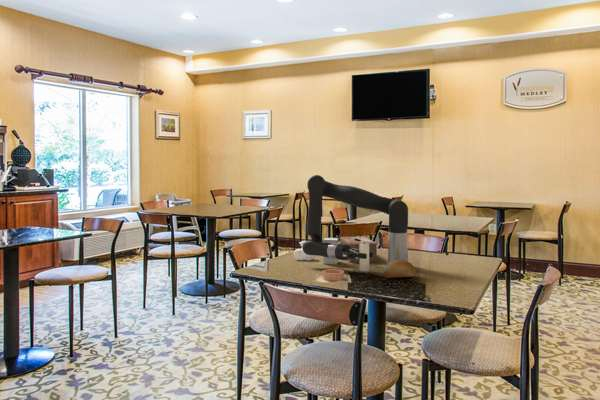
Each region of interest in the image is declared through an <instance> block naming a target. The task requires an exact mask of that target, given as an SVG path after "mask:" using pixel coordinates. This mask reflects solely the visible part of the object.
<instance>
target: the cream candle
mask: <svg viewBox="0 0 600 400" xmlns="http://www.w3.org/2000/svg"><path fill="white" fill-rule="evenodd" d="M359 253H364V254H367V258H366V259H362V258H359V262H358V263H359V271H360V272H369V271H370V262H369V244H368V243H365V242H364V243H360V244H359Z"/></svg>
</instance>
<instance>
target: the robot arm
mask: <svg viewBox="0 0 600 400" xmlns="http://www.w3.org/2000/svg"><path fill="white" fill-rule="evenodd" d="M307 190H308V199H309V200H308V213H307V222H306V235H308V236H309V237H310V240H305V241H306V242H305V243H304V244H303V246H301V248H302V249H303V252H304V253H305V254H307V255H315V257H317V256H319V257H328V258H333V259H338V261H348V259H355V258H357V259H358V258H362V259H366V258H367V254H364V253H359V249H355V248H352V249H351V247H350V246H349V245H347V244H340V242H338V243H323V238H322V204H323V203H322V202H323V197H324V198H330V199H334V200H336V201H338V202H340V203H343V204H347V205H350V206H354V207H357V208H360V209H366V210H372V211H373V210H374V211H378V212H382V213H384V214H386V215H388V228H387V229H388V230H387V231H388V234H387V236H388V237H387V238H388V241H387V242H388V243H387V244H388V246H387V251H388V252H387V253H388V254H387V257H388V258H387V264H388V263H389V262H391V261H394V260H404V261H407V262H409V249H408V227H409V207H408V204H407V203H406V202H404V201H403V200H402V199H395V198H390V197H385V196H381V195H378V194H375V193H374V192H371V191H369V190H366V189H363V188H359V187H355V186H351V185H341V184H335V183H332V182H330V181H327V180H325V179H324V177H323V176H322V175H319V174H316V175H312V176H310V178H309V179H308V180H307ZM369 257H373V252H369Z"/></svg>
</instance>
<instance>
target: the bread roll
mask: <svg viewBox="0 0 600 400" xmlns="http://www.w3.org/2000/svg"><path fill="white" fill-rule="evenodd" d="M416 273H417V271H416V268H415V267H414V265H413V264H412V263H411V262H409V261H408V262H407V261H404V260H394V261H391V262H389V263H388V262H387V264H386V266H385V267H384V268H383V272H382V274H383V277H384V278H386V279H394V278H396V279H397V278H413V277H414V276H416Z"/></svg>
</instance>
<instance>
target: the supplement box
mask: <svg viewBox="0 0 600 400" xmlns="http://www.w3.org/2000/svg"><path fill="white" fill-rule="evenodd" d="M322 242H323V243H339V238H338V237H325V238H323V239H322ZM322 257H323V256H322ZM322 261H323V262H322V263H323V264H324V265H338V262H339V260H338V259H333V258H328V257H323V259H322Z"/></svg>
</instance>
